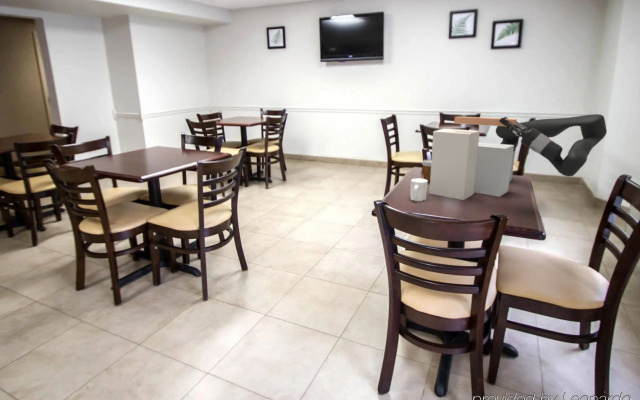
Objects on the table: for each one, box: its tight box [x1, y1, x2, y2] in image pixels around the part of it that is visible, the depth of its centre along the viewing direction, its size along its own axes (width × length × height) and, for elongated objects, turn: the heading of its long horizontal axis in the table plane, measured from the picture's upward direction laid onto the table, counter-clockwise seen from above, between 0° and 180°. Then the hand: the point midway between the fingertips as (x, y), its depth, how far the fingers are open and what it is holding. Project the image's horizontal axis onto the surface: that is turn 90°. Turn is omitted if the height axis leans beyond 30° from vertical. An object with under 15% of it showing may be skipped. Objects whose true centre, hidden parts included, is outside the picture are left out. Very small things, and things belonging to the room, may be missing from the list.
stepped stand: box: [429, 128, 514, 201], centre depth 193 cm, size 28×30×32 cm
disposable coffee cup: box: [421, 159, 432, 184], centre depth 218 cm, size 10×10×12 cm
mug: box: [409, 177, 428, 202], centre depth 188 cm, size 12×9×8 cm
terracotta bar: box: [453, 116, 518, 127], centre depth 176 cm, size 3×27×3 cm, turn 47°
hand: (502, 119), depth 171 cm, fingers closed on terracotta bar, 3 cm apart
